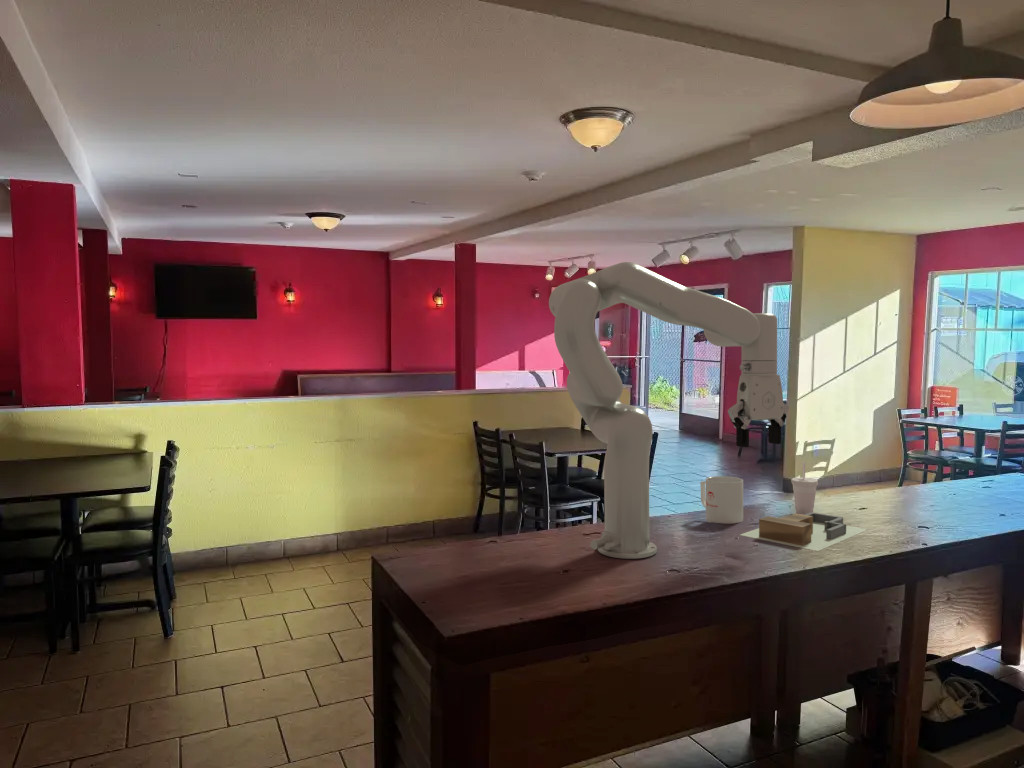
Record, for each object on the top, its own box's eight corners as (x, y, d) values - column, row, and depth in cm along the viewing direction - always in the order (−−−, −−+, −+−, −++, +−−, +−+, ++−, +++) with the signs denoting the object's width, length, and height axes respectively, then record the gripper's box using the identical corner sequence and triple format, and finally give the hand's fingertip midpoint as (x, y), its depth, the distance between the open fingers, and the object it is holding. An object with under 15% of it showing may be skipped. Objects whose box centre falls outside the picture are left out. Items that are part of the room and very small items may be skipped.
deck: (817, 556, 147) (817, 541, 147) (739, 540, 160) (739, 526, 160) (867, 534, 163) (867, 520, 163) (793, 521, 177) (793, 508, 177)
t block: (802, 545, 151) (802, 527, 151) (759, 536, 158) (759, 519, 158) (826, 536, 158) (826, 518, 158) (783, 528, 166) (783, 511, 165)
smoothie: (813, 514, 184) (813, 460, 183) (821, 520, 177) (822, 464, 177) (787, 514, 184) (788, 460, 184) (795, 520, 178) (795, 464, 177)
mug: (751, 525, 174) (751, 480, 173) (725, 530, 169) (725, 484, 169) (714, 515, 184) (714, 473, 183) (689, 520, 180) (689, 476, 179)
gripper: (742, 370, 151) (742, 449, 152) (800, 368, 159) (799, 444, 159) (717, 369, 158) (717, 445, 158) (774, 367, 165) (774, 440, 166)
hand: (758, 444), depth 159 cm, fingers open, 9 cm apart
